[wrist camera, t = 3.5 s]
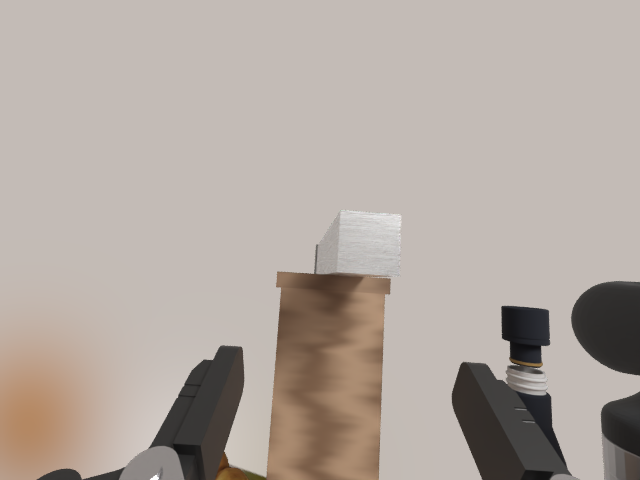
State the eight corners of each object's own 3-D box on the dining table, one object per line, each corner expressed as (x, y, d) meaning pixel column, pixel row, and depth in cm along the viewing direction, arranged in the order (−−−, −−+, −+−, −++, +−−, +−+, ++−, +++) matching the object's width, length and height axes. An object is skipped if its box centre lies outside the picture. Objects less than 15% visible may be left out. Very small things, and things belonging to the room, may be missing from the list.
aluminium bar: (343, 277, 43) (345, 248, 44) (400, 276, 19) (402, 211, 20) (314, 275, 43) (316, 246, 43) (335, 272, 19) (339, 206, 19)
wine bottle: (493, 607, 30) (490, 303, 34) (576, 654, 27) (562, 309, 31) (486, 672, 25) (483, 305, 29) (589, 743, 22) (570, 313, 25)
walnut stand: (357, 528, 39) (368, 279, 43) (378, 665, 25) (390, 278, 29) (272, 522, 39) (291, 274, 43) (246, 655, 25) (277, 271, 29)
